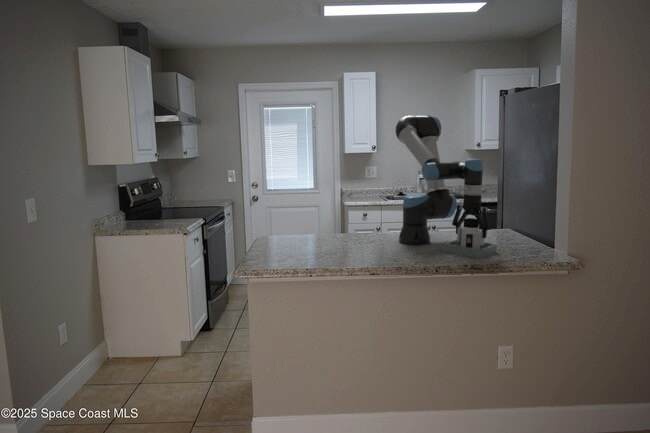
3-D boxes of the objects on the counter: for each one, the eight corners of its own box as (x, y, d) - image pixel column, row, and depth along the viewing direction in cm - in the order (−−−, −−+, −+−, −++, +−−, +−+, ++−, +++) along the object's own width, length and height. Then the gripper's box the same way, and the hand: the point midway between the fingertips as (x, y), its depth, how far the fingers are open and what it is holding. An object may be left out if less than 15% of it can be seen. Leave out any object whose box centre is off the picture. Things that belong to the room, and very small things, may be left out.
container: (480, 249, 220) (481, 220, 217) (461, 248, 221) (463, 220, 219) (478, 245, 227) (479, 217, 225) (460, 244, 229) (461, 216, 226)
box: (443, 251, 225) (444, 244, 225) (459, 245, 236) (460, 238, 235) (481, 258, 213) (481, 250, 213) (496, 251, 224) (496, 244, 223)
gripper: (445, 192, 225) (443, 240, 229) (493, 197, 210) (491, 248, 214) (453, 191, 230) (451, 238, 234) (501, 195, 215) (498, 245, 219)
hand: (470, 243), depth 224 cm, fingers closed on container, 10 cm apart
